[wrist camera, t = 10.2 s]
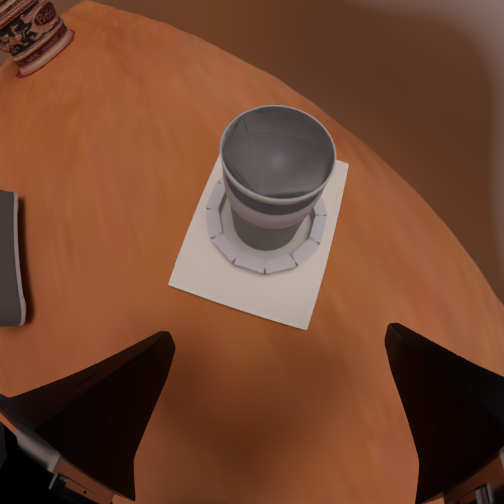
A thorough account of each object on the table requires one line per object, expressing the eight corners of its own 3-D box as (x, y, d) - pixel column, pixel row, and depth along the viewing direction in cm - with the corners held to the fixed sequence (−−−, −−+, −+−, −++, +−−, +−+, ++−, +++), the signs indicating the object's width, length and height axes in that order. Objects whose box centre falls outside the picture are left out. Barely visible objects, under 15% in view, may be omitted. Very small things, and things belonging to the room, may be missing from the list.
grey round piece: (274, 266, 23) (296, 227, 12) (217, 225, 24) (194, 158, 13) (313, 212, 24) (355, 143, 13) (258, 175, 25) (264, 89, 14)
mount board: (304, 329, 23) (311, 332, 20) (170, 285, 23) (161, 282, 21) (346, 167, 26) (354, 154, 23) (231, 133, 26) (230, 117, 24)
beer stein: (86, 44, 35) (62, 27, 36) (61, -65, 8) (41, -57, 9) (17, 94, 30) (5, 67, 31) (-35, -6, 3) (-32, -11, 4)
